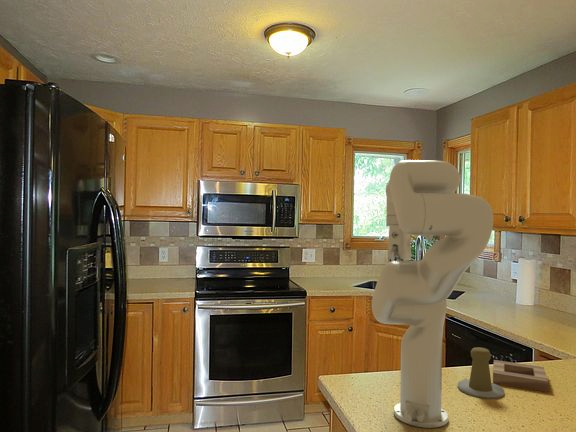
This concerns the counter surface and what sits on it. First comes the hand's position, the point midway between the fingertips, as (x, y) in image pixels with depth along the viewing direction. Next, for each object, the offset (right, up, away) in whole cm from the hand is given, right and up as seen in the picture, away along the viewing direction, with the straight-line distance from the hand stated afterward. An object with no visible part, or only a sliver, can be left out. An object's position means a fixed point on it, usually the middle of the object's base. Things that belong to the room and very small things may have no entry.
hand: (398, 279), depth 125 cm
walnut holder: (+38, -31, +3) cm, 49 cm away
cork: (+22, -30, -6) cm, 37 cm away
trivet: (+22, -31, -6) cm, 38 cm away
